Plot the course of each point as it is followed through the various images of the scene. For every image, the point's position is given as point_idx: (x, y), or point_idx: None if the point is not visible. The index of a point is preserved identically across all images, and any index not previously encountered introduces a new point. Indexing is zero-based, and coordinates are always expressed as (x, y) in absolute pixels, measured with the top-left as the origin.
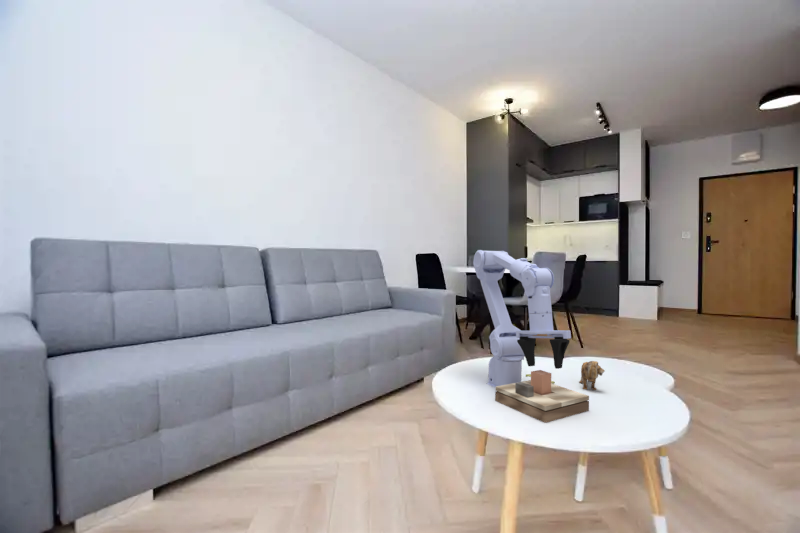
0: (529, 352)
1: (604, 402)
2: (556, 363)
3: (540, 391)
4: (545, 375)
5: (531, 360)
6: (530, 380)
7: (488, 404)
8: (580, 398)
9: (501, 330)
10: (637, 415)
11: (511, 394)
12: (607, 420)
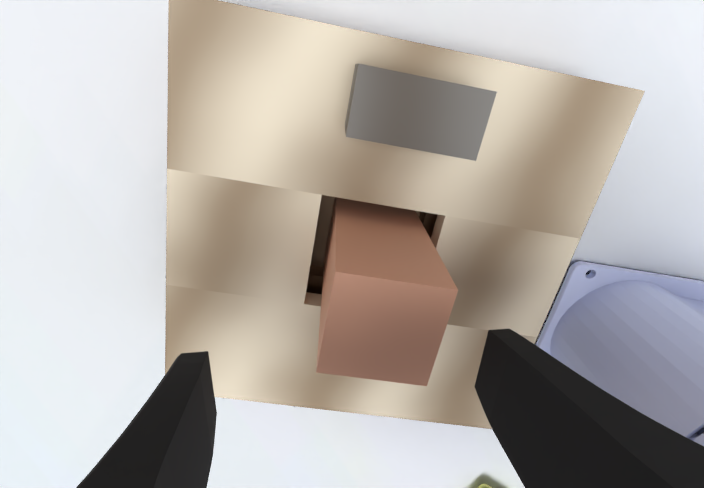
0: (579, 461)
1: (233, 476)
2: (162, 383)
3: (346, 220)
4: (327, 305)
5: (510, 393)
6: None
7: (598, 26)
8: (167, 328)
9: None
10: (85, 447)
11: (484, 57)
12: (104, 320)
